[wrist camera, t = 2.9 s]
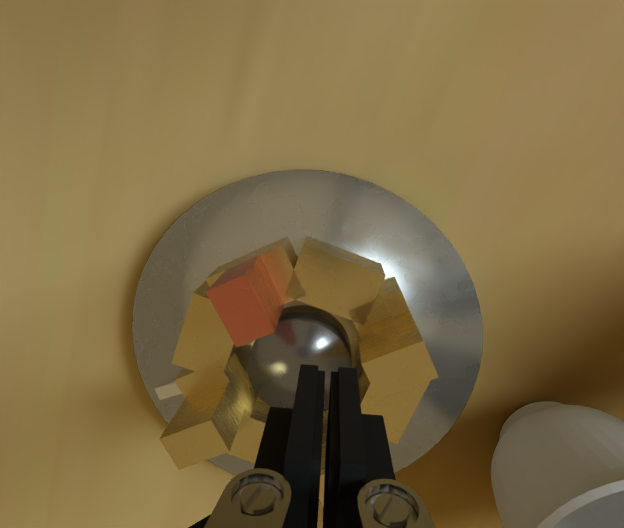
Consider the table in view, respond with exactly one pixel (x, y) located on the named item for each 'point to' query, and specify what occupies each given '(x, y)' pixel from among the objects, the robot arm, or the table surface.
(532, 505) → the teacup
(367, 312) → the wooden block ring
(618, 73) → the table surface
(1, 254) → the table surface
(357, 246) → the cap plate
